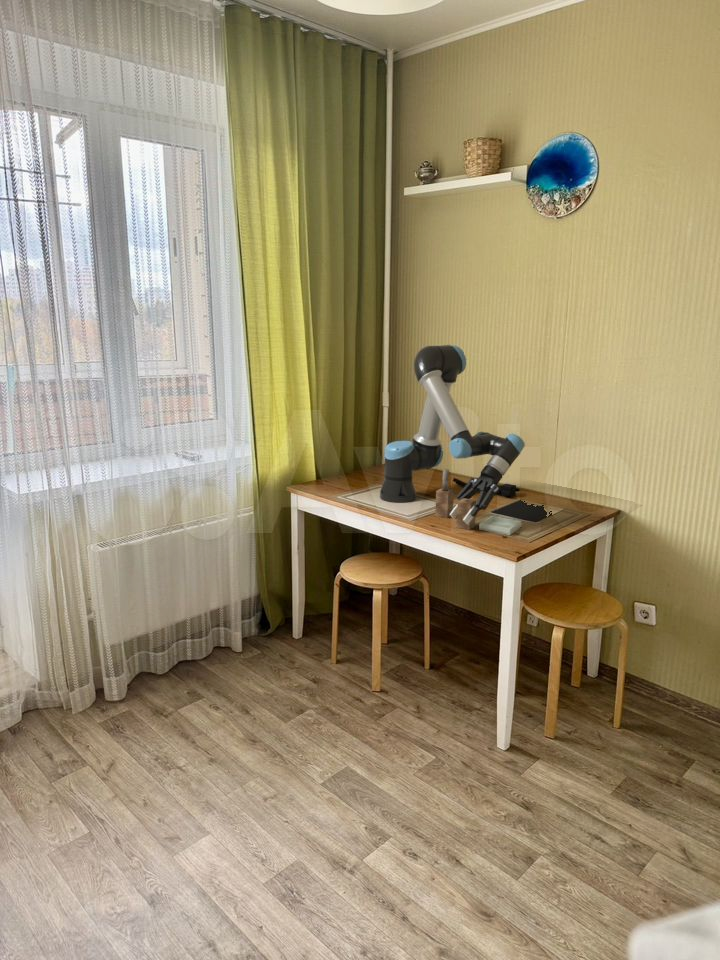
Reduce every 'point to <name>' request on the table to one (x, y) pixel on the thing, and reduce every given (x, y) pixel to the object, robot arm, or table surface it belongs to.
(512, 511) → the tablet
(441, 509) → the block
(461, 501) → the block
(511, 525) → the tray
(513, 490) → the toy
